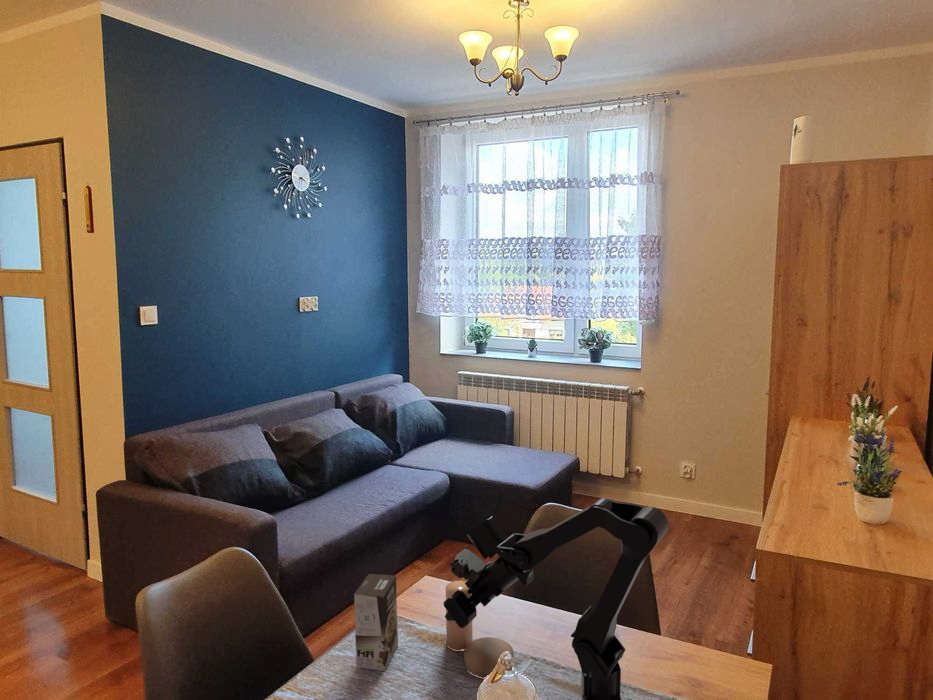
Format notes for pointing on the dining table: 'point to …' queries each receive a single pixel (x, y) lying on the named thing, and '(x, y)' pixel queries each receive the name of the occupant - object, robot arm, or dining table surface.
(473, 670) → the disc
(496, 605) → the dining table surface
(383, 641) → the coffee box
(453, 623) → the candle
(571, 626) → the dining table surface
